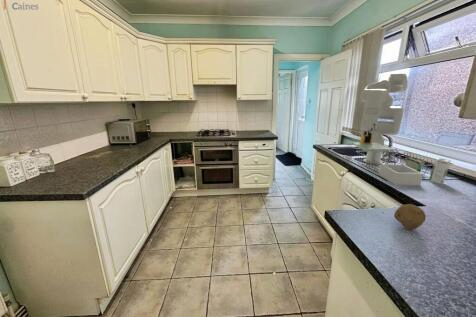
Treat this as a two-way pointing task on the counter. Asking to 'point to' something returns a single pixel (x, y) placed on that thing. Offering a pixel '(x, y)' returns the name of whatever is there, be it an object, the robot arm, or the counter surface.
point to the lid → (371, 145)
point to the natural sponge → (410, 216)
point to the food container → (414, 163)
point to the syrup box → (439, 170)
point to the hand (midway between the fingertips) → (366, 142)
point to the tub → (400, 174)
